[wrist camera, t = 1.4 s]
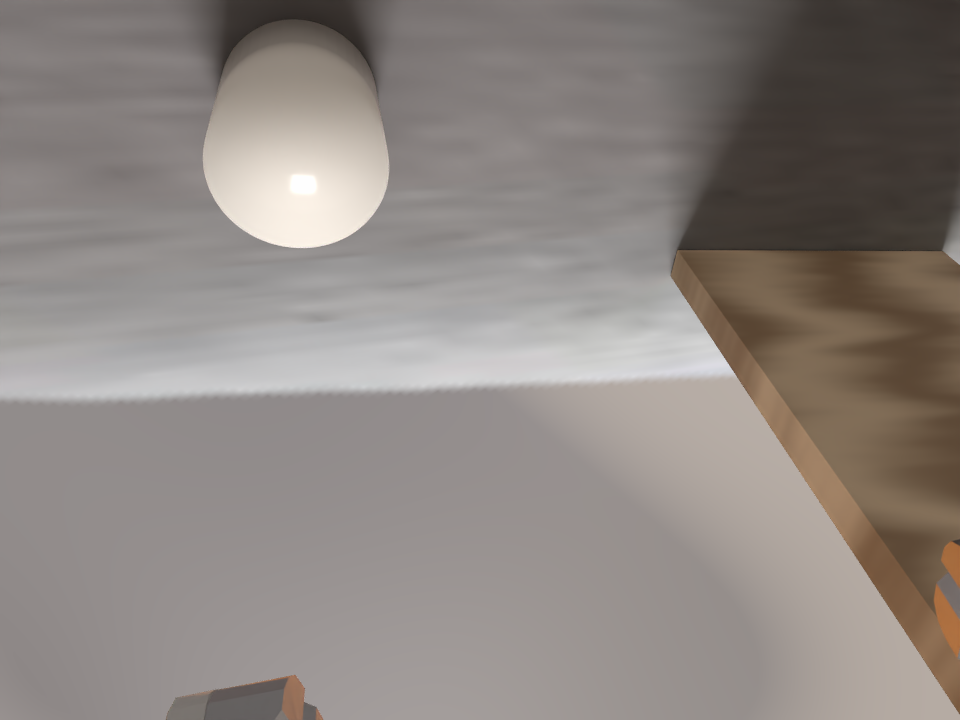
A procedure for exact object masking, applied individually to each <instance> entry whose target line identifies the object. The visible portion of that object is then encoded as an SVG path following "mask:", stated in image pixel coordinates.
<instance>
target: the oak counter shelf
mask: <svg viewBox="0 0 960 720" xmlns="http://www.w3.org/2000/svg"><path fill="white" fill-rule="evenodd" d="M671 277H672V279H673V280H674V282H675V284H676V285H677V287H678V288H679V290H680V291H681V293H682V294H683V296H684V297H685V299H686V300H687V302H688V303H689V305H690V306H691V308H692V309H693V311H694V312H695V314H696V315H697V317H698V318H699V320H700V321H701V323H702V324H703V326H704V327H705V329H706V331H707V332H708V334H709V335H710V337H711V338H712V340H713V341H714V343H715V344H716V346H717V347H718V349H719V350H720V352H721V353H722V355H723V356H724V358H725V359H726V361H727V362H728V364H729V365H730V367H731V368H732V370H733V371H734V373H735V374H736V376H737V378H738V379H739V381H740V382H741V384H742V385H743V387H744V388H745V390H746V391H747V393H748V394H749V396H750V397H751V399H752V400H753V402H754V403H755V405H756V406H757V408H758V409H759V411H760V412H761V414H762V415H763V417H764V418H765V420H766V421H767V423H768V425H769V426H770V428H771V429H772V431H773V432H774V433H775V435H776V437H777V438H778V440H779V441H780V443H781V444H782V446H783V447H784V449H785V450H786V452H787V453H788V455H789V456H790V458H791V459H792V461H793V462H794V464H795V465H796V467H797V468H798V470H799V472H800V473H801V474H802V476H803V477H804V479H805V481H806V482H807V484H808V485H809V487H810V488H811V490H812V491H813V493H814V494H815V496H816V497H817V499H818V500H819V502H820V503H821V505H822V506H823V508H824V509H825V511H826V512H827V514H828V515H829V517H830V519H831V520H832V521H833V523H834V524H835V526H836V528H837V529H838V530H839V532H840V534H841V535H842V537H843V538H844V540H845V541H846V543H847V544H848V546H849V547H850V549H851V550H852V552H853V553H854V555H855V556H856V558H857V559H858V561H859V563H860V564H861V565H862V567H863V569H864V570H865V571H866V573H867V575H868V576H869V578H870V579H871V581H872V582H873V584H874V585H875V587H876V588H877V590H878V591H879V593H880V594H881V596H882V597H883V599H884V600H885V602H886V603H887V605H888V606H889V608H890V610H891V611H892V612H893V614H894V616H895V617H896V619H897V620H898V622H899V623H900V624H901V626H902V628H903V629H904V630H905V632H906V634H907V635H908V637H909V638H910V640H911V641H912V643H913V644H914V646H915V647H916V649H917V650H918V652H919V653H920V655H921V656H922V658H923V660H924V661H925V663H926V664H927V666H928V667H929V669H930V670H931V672H932V673H933V675H934V676H935V678H936V679H937V680H938V682H939V684H940V685H941V687H942V688H943V690H944V691H945V693H946V694H947V696H948V697H949V699H950V700H951V702H952V704H953V705H954V707H955V708H956V710H957V711H958V712H959V714H960V660H959V659H958V658H957V657H956V655H955V654H954V652H953V650H952V649H951V647H950V645H949V644H948V642H947V640H946V638H945V636H944V634H943V632H942V629H941V627H940V625H939V622H938V618H937V614H936V609H935V604H934V595H935V588H936V583H937V582H938V581H939V580H940V579H941V578H942V577H943V576H944V575H946V574H947V573H948V570H947V569H946V567H945V566H944V564H943V563H942V561H941V558H942V554H943V550H944V547H945V546H946V545H947V544H948V543H949V542H951V541H954V540H958V539H960V265H959V264H958V263H956V262H955V261H954V260H953V259H952V258H950V257H949V256H948V255H947V254H946V253H944V252H943V251H768V250H677V254H676V258H675V262H674V265H673V269H672V273H671Z"/></svg>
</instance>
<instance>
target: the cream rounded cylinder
mask: <svg viewBox="0 0 960 720" xmlns="http://www.w3.org/2000/svg"><path fill="white" fill-rule="evenodd" d="M203 166H204V173H205V177H206V181H207V184H208V186H209V189H210V192H211V194H212V195H213V197H214V199H215V201H216V203H217V204H218V205H219V207H220V208H221V209H222V211H223V212H224V213H225V214H226V215H227V216H228V217H229V219H230V220H231V221H233V222H234V223H235V224H236V225H237V226H239V227H240V228H241V229H243V230H244V231H246V232H247V233H249V234H251V235H253V236H255V237H256V238H258V239H261V240H263V241H266V242H269V243H271V244H275V245H279V246H284V247H292V248H311V247H319V246H323V245H328V244H331V243H334V242H337V241H339V240H341V239H343V238H345V237H347V236H349V235H351V234H352V233H354V232H355V231H357V230H358V229H359V228H360V227H362V226H363V225H364V224H365V223H366V222H367V221H368V220H369V219H370V218H371V217H372V215H373V214H374V213H375V211H376V210H377V208H378V207H379V205H380V203H381V201H382V199H383V197H384V194H385V191H386V188H387V183H388V178H389V158H388V151H387V146H386V140H385V134H384V129H383V123H382V118H381V112H380V107H379V101H378V95H377V90H376V85H375V81H374V77H373V75H372V72H371V69H370V67H369V66H368V64H367V62H366V60H365V59H364V57H363V56H362V54H361V53H360V51H359V50H358V49H357V48H356V47H355V46H354V45H353V44H352V43H351V42H350V41H349V40H348V39H346V38H345V37H344V36H343V35H341V34H340V33H338V32H337V31H335V30H333V29H331V28H329V27H327V26H325V25H322V24H319V23H316V22H311V21H307V20H297V19H290V20H280V21H275V22H271V23H268V24H265V25H263V26H261V27H259V28H257V29H255V30H253V31H252V32H250V33H249V34H247V35H246V36H245V37H244V38H243V39H242V40H241V41H240V42H239V43H238V44H237V45H236V46H235V48H234V49H233V50H232V51H231V53H230V55H229V57H228V59H227V61H226V63H225V66H224V69H223V72H222V76H221V80H220V83H219V87H218V91H217V95H216V99H215V103H214V107H213V110H212V114H211V118H210V122H209V126H208V130H207V134H206V138H205V143H204V148H203Z"/></svg>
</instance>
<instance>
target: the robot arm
mask: <svg viewBox="0 0 960 720" xmlns="http://www.w3.org/2000/svg"><path fill="white" fill-rule="evenodd" d="M941 561H942V563H943V564H944V566H945V567H946V569H947V570H948V573H947V574H946V575H944V576H943V577H942V578H941V579H940V580H939V581H938V582H937V583H936V588H935V595H934V604H935V609H936V614H937V618H938V622H939V625H940V627H941V629H942V632H943V634H944V636H945V638H946V640H947V642H948V644H949V645H950V647H951V649H952V650H953V652H954V654H955V655H956V657H957V658H958V659H959V660H960V539H958V540H954V541H951V542H949V543H948V544H947V545H946V546H945V547H944V550H943V554H942V558H941ZM304 693H305V688H304V686H303V685H302V684H301V682H300V681H299V679H298V678H297V676H296V675H291V676H286V677H281V678H276V679H271V680H266V681H261V682H255V683H250V684H245V685H240V686H235V687H230V688H224V689H219V690H218V689H217V690H211V691H206V692H202V693H197V694H192V695H187V696H182V697H178V698H175V700H174V702H173V704H172V706H171V707H170V709H169V711H168V713H167V717H166V720H323V718H322V716H321V715H320V713H319V711H318V709H317V708H316V707H315V706H312V705H310V704H307V703H305V702H304Z"/></svg>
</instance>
